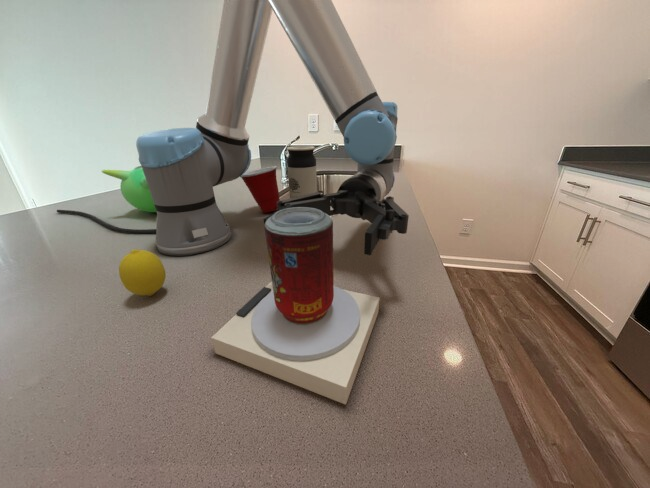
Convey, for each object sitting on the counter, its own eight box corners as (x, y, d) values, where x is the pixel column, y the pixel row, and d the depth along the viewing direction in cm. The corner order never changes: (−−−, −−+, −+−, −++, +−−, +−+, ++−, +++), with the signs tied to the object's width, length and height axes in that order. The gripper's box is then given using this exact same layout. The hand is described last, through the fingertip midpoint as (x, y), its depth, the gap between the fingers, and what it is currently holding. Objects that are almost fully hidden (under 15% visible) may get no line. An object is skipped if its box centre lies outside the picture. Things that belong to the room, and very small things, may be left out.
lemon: (143, 286, 43) (125, 242, 39) (177, 283, 43) (163, 240, 40) (122, 307, 38) (100, 260, 34) (161, 304, 38) (143, 257, 35)
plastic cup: (279, 212, 71) (264, 168, 66) (248, 218, 75) (231, 177, 70) (295, 200, 80) (282, 161, 75) (266, 206, 84) (252, 169, 79)
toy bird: (203, 204, 86) (193, 158, 79) (164, 222, 71) (147, 167, 65) (158, 202, 90) (145, 158, 83) (112, 218, 75) (92, 166, 69)
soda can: (270, 299, 33) (258, 208, 28) (321, 287, 36) (319, 201, 30) (283, 337, 27) (270, 231, 22) (343, 319, 30) (344, 220, 24)
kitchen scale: (215, 353, 30) (209, 332, 28) (279, 287, 41) (277, 270, 40) (345, 405, 24) (346, 381, 23) (378, 312, 36) (380, 292, 34)
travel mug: (309, 205, 82) (306, 145, 74) (323, 211, 76) (321, 147, 68) (286, 210, 78) (280, 147, 70) (299, 217, 72) (294, 149, 64)
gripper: (428, 219, 46) (416, 282, 28) (304, 206, 55) (237, 247, 38) (435, 177, 43) (426, 218, 25) (302, 170, 52) (228, 197, 34)
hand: (313, 236), depth 31 cm, fingers open, 13 cm apart
